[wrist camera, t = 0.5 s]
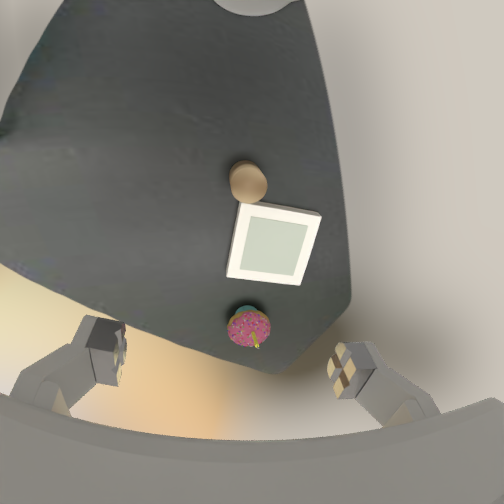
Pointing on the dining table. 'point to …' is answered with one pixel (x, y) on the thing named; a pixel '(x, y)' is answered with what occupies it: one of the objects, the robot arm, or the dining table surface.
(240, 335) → the cupcake
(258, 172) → the bread loaf
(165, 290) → the dining table surface
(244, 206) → the base slab
